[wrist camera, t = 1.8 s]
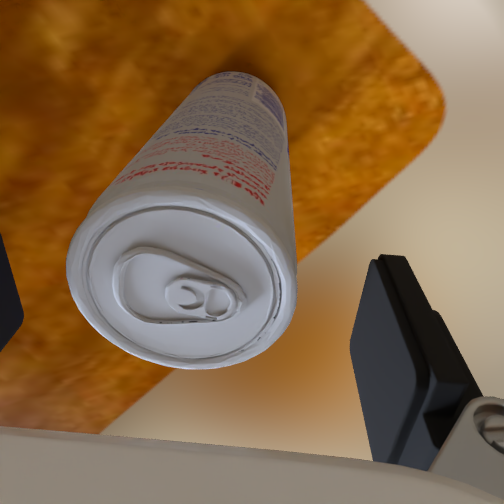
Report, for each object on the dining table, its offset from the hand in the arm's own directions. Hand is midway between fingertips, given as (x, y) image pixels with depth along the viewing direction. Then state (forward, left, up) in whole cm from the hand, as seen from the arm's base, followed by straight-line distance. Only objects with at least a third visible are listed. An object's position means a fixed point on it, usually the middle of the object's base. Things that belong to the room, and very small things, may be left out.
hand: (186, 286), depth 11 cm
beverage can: (0, 0, -14) cm, 14 cm away
